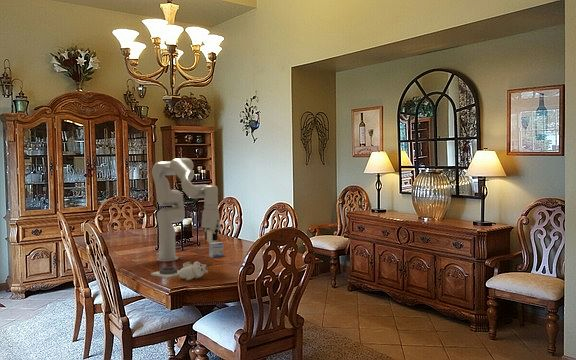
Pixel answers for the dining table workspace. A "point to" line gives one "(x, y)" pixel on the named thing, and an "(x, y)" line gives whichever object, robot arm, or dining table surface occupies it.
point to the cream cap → (210, 236)
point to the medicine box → (215, 249)
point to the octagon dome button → (166, 272)
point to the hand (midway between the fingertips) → (211, 239)
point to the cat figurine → (192, 270)
